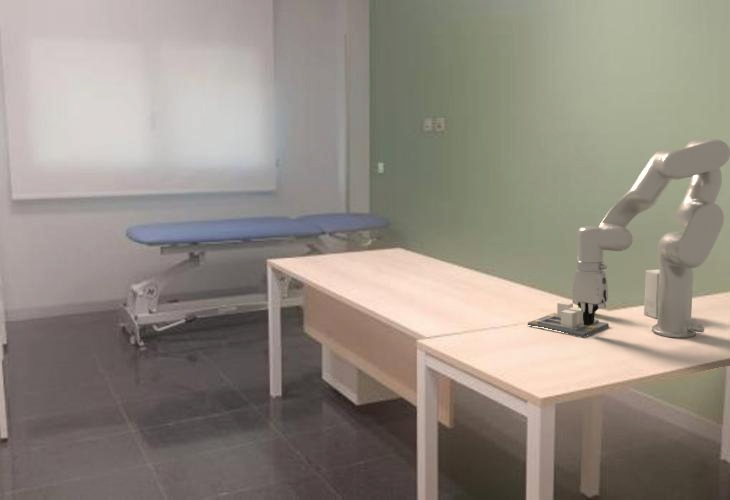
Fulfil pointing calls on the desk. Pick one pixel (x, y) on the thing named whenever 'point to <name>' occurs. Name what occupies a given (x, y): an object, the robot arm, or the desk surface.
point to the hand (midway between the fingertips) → (588, 324)
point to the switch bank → (555, 324)
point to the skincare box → (651, 293)
